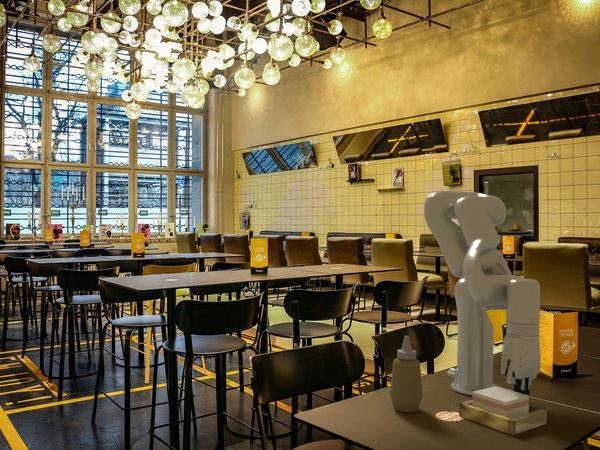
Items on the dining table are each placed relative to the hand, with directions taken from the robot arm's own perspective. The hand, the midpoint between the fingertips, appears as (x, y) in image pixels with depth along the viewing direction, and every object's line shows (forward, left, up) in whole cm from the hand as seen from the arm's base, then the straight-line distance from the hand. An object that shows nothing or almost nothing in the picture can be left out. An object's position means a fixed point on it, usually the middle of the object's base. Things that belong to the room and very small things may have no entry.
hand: (521, 404), depth 134 cm
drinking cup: (-27, +37, -2) cm, 45 cm away
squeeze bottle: (-18, -21, -2) cm, 28 cm away
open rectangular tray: (0, -7, -2) cm, 7 cm away
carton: (-1, -7, -2) cm, 7 cm away
